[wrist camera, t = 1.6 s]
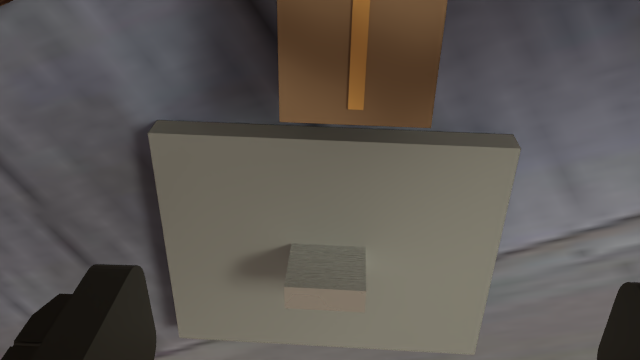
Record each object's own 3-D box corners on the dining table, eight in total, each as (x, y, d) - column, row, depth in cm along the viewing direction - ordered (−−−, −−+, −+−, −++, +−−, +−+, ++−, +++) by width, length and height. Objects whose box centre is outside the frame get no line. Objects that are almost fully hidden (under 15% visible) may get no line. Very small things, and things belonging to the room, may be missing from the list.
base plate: (157, 120, 29) (147, 132, 27) (513, 134, 28) (520, 148, 27) (186, 320, 36) (179, 337, 35) (470, 336, 35) (474, 354, 34)
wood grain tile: (291, 243, 30) (284, 286, 27) (365, 247, 30) (366, 291, 27) (291, 263, 31) (284, 308, 28) (364, 267, 31) (364, 312, 28)
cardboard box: (291, -75, 24) (275, -56, 19) (435, -72, 23) (454, -51, 19) (293, 74, 27) (279, 123, 22) (418, 79, 27) (431, 129, 22)
